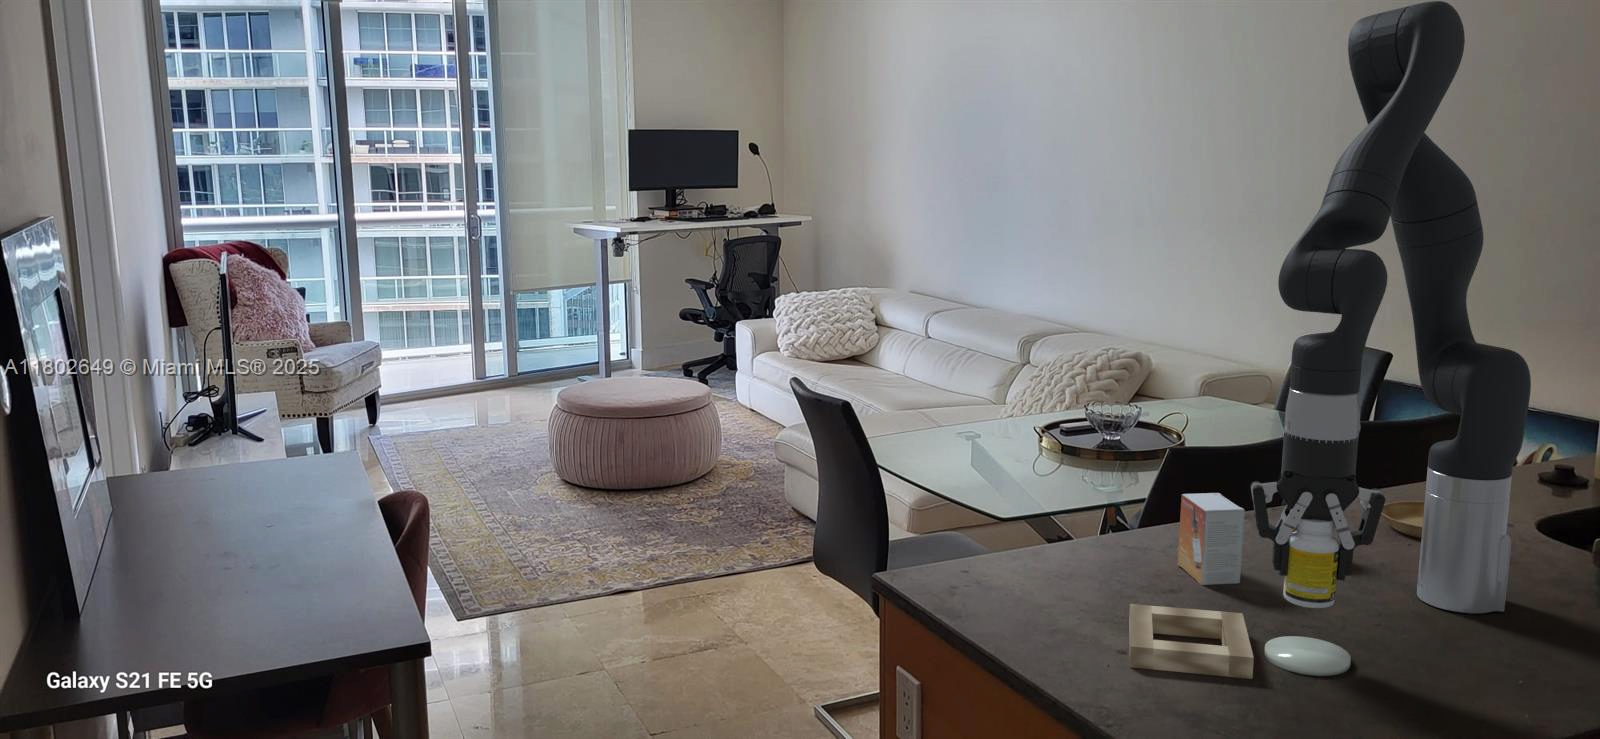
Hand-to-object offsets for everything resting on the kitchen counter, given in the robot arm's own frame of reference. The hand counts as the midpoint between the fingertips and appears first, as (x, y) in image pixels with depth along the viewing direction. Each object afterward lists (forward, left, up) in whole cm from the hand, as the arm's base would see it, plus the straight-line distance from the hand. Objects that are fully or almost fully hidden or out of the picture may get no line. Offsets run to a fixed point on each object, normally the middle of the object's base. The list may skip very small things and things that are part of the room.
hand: (1310, 575), depth 133 cm
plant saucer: (-25, -54, -10) cm, 60 cm away
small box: (+9, -26, -10) cm, 29 cm away
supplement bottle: (0, 0, -3) cm, 3 cm away
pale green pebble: (0, 0, -10) cm, 10 cm away
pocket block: (+13, +1, -10) cm, 16 cm away
